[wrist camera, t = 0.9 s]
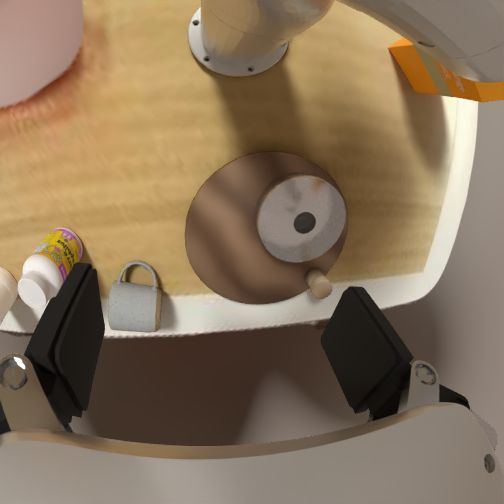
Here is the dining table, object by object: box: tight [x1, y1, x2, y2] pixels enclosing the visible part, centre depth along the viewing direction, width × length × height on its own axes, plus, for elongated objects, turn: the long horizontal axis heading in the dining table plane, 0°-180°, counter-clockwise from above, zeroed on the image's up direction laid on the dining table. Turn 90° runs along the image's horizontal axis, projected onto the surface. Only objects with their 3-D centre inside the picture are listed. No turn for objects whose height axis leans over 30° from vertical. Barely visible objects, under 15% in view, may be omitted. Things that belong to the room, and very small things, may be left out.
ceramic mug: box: [108, 261, 162, 332], centre depth 38 cm, size 11×8×8 cm
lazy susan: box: [185, 151, 348, 304], centre depth 38 cm, size 24×24×6 cm
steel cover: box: [255, 172, 346, 262], centre depth 36 cm, size 12×12×3 cm
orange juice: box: [388, 37, 504, 102], centre depth 21 cm, size 8×9×20 cm
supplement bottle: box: [18, 227, 83, 309], centre depth 30 cm, size 7×7×13 cm
